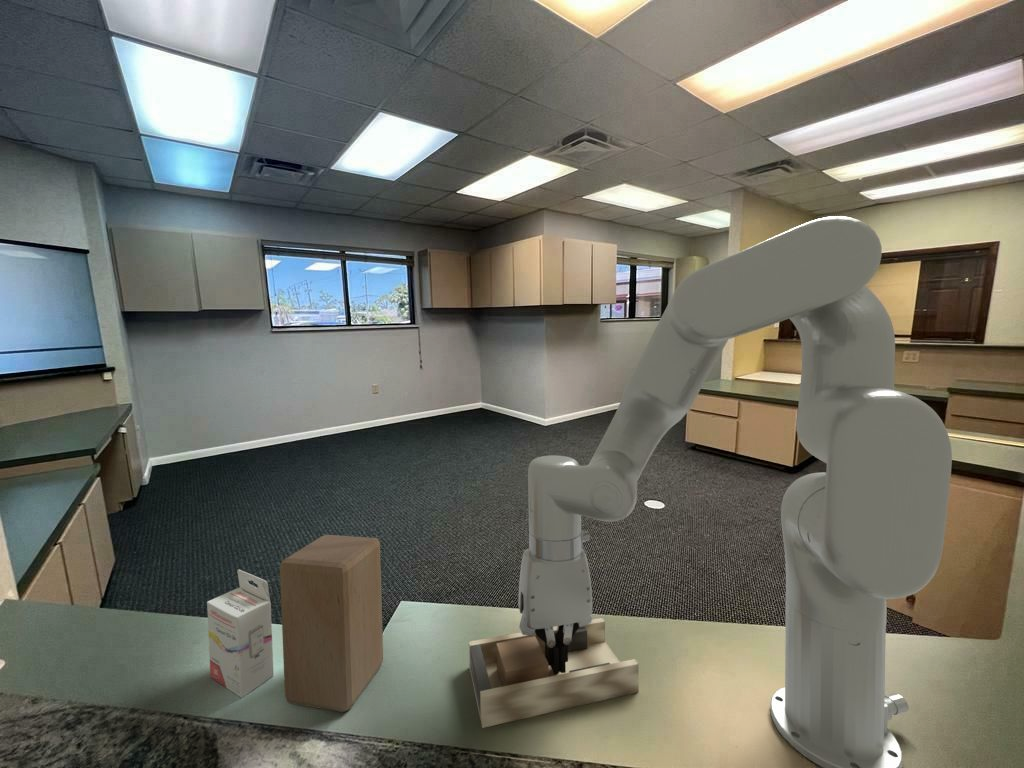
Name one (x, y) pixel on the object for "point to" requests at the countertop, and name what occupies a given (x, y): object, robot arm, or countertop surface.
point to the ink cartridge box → (241, 636)
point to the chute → (551, 678)
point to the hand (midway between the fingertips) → (556, 666)
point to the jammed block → (520, 661)
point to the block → (331, 621)
